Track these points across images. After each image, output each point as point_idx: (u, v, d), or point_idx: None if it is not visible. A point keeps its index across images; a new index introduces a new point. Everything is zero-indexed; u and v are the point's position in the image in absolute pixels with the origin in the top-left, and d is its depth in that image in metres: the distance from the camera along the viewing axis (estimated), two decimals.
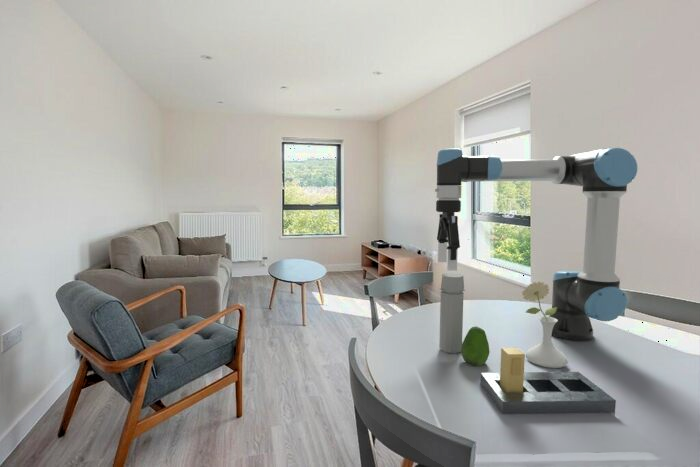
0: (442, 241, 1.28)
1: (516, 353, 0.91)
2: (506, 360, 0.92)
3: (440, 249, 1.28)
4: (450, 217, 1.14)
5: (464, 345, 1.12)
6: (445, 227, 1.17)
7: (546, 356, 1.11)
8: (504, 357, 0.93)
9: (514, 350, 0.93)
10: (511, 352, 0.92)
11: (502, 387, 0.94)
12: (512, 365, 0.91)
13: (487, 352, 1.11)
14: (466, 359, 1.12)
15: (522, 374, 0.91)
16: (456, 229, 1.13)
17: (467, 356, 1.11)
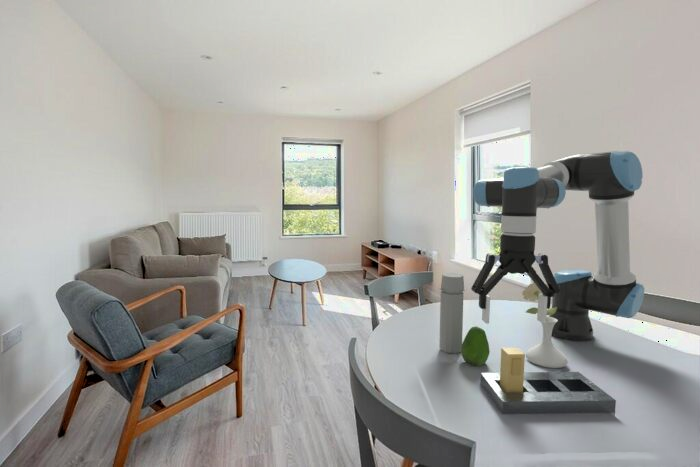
0: (544, 293, 0.91)
1: (516, 353, 0.91)
2: (506, 360, 0.92)
3: (539, 302, 0.92)
4: (487, 255, 0.91)
5: (464, 345, 1.12)
6: (497, 268, 0.92)
7: (546, 356, 1.11)
8: (504, 357, 0.93)
9: (514, 350, 0.93)
10: (511, 352, 0.92)
11: (502, 387, 0.94)
12: (512, 365, 0.91)
13: (487, 352, 1.11)
14: (466, 359, 1.12)
15: (522, 374, 0.91)
16: (484, 271, 0.90)
17: (467, 356, 1.11)
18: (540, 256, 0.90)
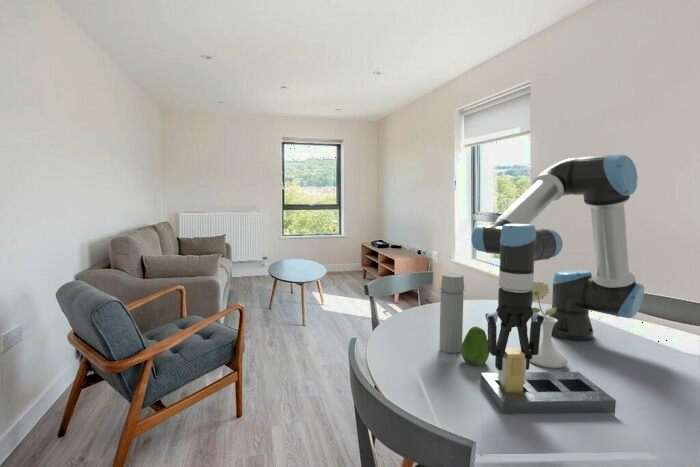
0: None
1: (516, 353, 0.91)
2: None
3: None
4: (485, 316, 0.93)
5: (464, 345, 1.12)
6: None
7: (546, 356, 1.11)
8: None
9: (514, 350, 0.93)
10: (511, 352, 0.92)
11: (502, 387, 0.94)
12: (512, 365, 0.91)
13: (487, 352, 1.11)
14: (466, 359, 1.12)
15: (522, 374, 0.91)
16: (490, 332, 0.92)
17: (467, 356, 1.11)
18: (537, 315, 0.92)
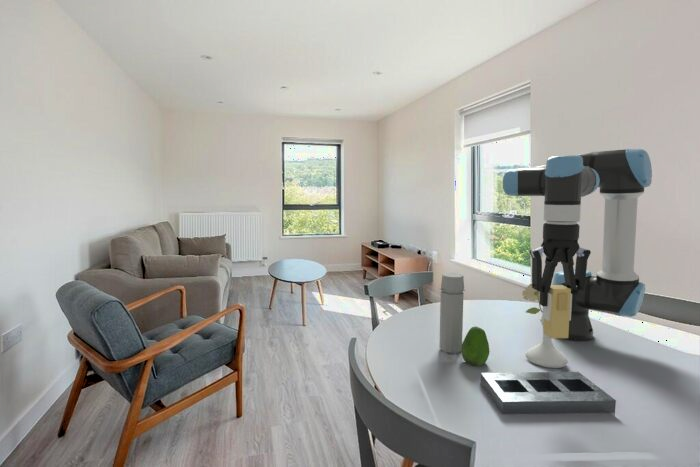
0: None
1: (562, 288, 0.90)
2: None
3: None
4: (530, 252, 0.92)
5: (464, 345, 1.12)
6: (545, 261, 0.93)
7: (546, 356, 1.11)
8: None
9: (559, 287, 0.91)
10: (557, 287, 0.91)
11: (546, 324, 0.93)
12: (558, 300, 0.90)
13: (487, 352, 1.11)
14: (466, 359, 1.12)
15: (568, 309, 0.90)
16: (535, 268, 0.90)
17: (467, 356, 1.11)
18: (583, 249, 0.90)
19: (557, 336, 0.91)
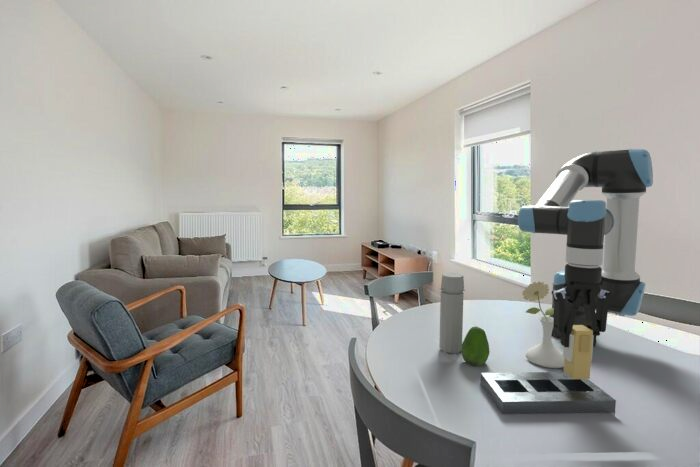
0: None
1: (584, 330, 0.91)
2: None
3: None
4: (552, 293, 0.92)
5: (464, 345, 1.12)
6: (566, 301, 0.93)
7: (546, 356, 1.11)
8: None
9: (580, 327, 0.92)
10: (579, 329, 0.92)
11: (568, 365, 0.94)
12: (580, 342, 0.90)
13: (487, 352, 1.11)
14: (466, 359, 1.12)
15: (590, 351, 0.91)
16: (557, 309, 0.91)
17: (467, 356, 1.11)
18: (605, 291, 0.91)
19: (579, 377, 0.92)
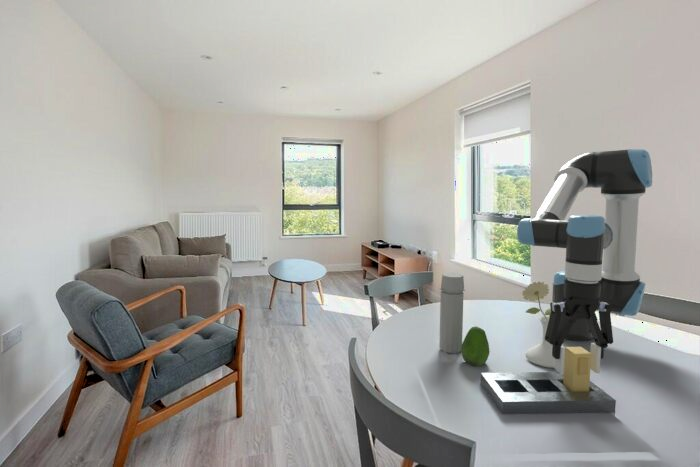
0: (597, 343, 0.93)
1: (582, 352, 0.91)
2: (572, 359, 0.92)
3: (591, 352, 0.94)
4: (551, 304, 0.93)
5: (464, 345, 1.12)
6: (563, 314, 0.94)
7: (546, 356, 1.11)
8: (570, 356, 0.93)
9: (579, 350, 0.93)
10: (577, 351, 0.92)
11: (566, 386, 0.94)
12: (579, 364, 0.91)
13: (487, 352, 1.11)
14: (466, 359, 1.12)
15: (588, 373, 0.92)
16: (553, 321, 0.92)
17: (467, 356, 1.11)
18: (604, 304, 0.92)
19: None
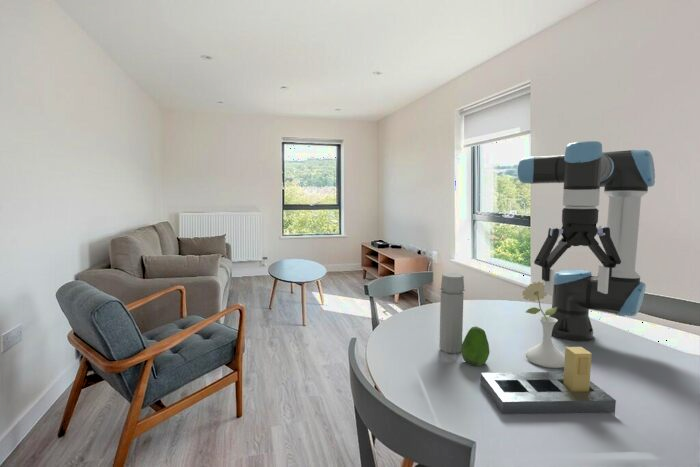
0: (605, 264, 0.94)
1: (583, 353, 0.91)
2: (572, 359, 0.92)
3: (599, 274, 0.95)
4: (549, 229, 0.93)
5: (464, 345, 1.12)
6: (559, 241, 0.95)
7: (546, 356, 1.11)
8: (570, 356, 0.93)
9: (579, 350, 0.93)
10: (578, 351, 0.92)
11: (567, 386, 0.94)
12: (579, 364, 0.91)
13: (487, 352, 1.11)
14: (466, 359, 1.12)
15: (588, 373, 0.92)
16: (548, 244, 0.92)
17: (467, 356, 1.11)
18: (602, 228, 0.92)
19: None
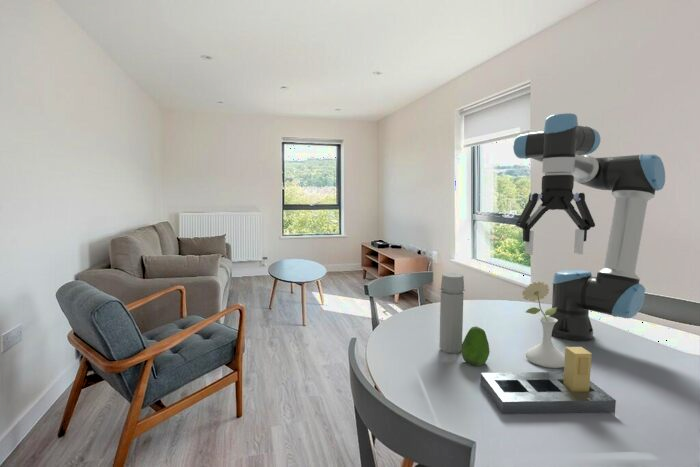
0: (581, 227, 1.03)
1: (583, 353, 0.91)
2: (572, 359, 0.92)
3: (576, 237, 1.04)
4: (530, 194, 1.03)
5: (464, 345, 1.12)
6: None
7: (546, 356, 1.11)
8: (570, 356, 0.93)
9: (579, 350, 0.93)
10: (578, 351, 0.92)
11: (567, 386, 0.94)
12: (579, 364, 0.91)
13: (487, 352, 1.11)
14: (466, 359, 1.12)
15: (588, 373, 0.92)
16: (528, 207, 1.02)
17: (467, 356, 1.11)
18: (577, 194, 1.02)
19: None
